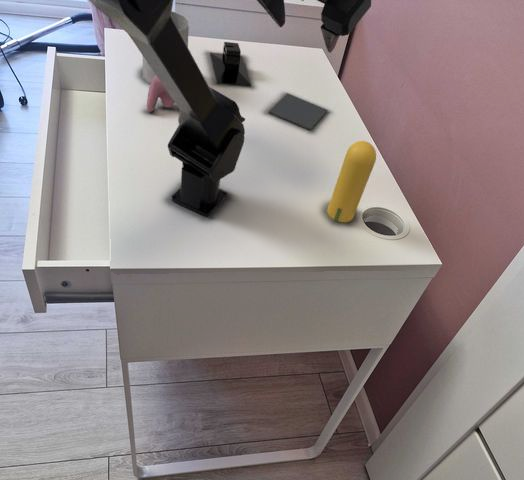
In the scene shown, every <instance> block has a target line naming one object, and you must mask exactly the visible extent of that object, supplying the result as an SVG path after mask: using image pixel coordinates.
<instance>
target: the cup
mask: <svg viewBox="0 0 524 480" xmlns="http://www.w3.org/2000/svg"><path fill="white" fill-rule="evenodd" d="M171 17H172V19H173V21H174V23H175V25H176V27H177V29H178V30H179V32H180V34H181V36H182V38H183V40H184V41H185V43H186V45H187V47H188V48H189V31H190V30H189V29H190V25H189V23H190V22H189V20H188V19H187V18H186V17H185V16H184V15H182V14H180V13H178V12H176V11H173V10H172V11H171ZM155 76H156V74H155V73H154V71H153V70H152V68H151V67H150V65H149V64H148V62H147V61H146V59H145V58H144V57H143V56H142V78H143V79H144V81H146V82H147V83H148V84H151V81H152V79H153V78H154V77H155Z"/></svg>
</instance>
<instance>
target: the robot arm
mask: <svg viewBox="0 0 524 480" xmlns="http://www.w3.org/2000/svg"><path fill="white" fill-rule="evenodd" d="M88 1H89V2H90V4H92V5H93V6H94V7H95V8H96V9H97V10H98V11H100V12H101V13H102V14H103V15H105V16H106V17H107V18H108V19H110V20H111V21H112V22H113V23H114V24H115V25H117V26H118V27H119V28H121V29H122V30H123V31H124V32H125V33H126V34H127V35H128V36H129V37H130V40H131V41H132V42H133V43H134V45H135V46H136V48H137V49H138V51H139V53H140V54H141V55H142V58H143V57H144V58H145V59H146V61H147V62H148V64H149V65H150V67H151V68H152V70H153V71H154V73H155V74H156V76H157V77H158V78H159V80H160V81H161V83H162V84H163V86H164V87H165V89H166V90H167V92H168V93H169V95H170V96H171V97H172V99H173V100H174V102H175V103H174V104H175V105H176V106H177V108H178V109H179V114H178V118H177V121H178V126H177V128H176V129H175V131H174V133H173V134H172V136H171V138H170V140H169V141H168V143H167V149H168V153H169V155H170V156H171V157H172V158H175V159H177V160H179V161H180V162H181V163H182V164H181V174H180V175H181V176H180V177H181V178H180V188H179V189H178V190H177V191H175V193H174V194H172V195H171V201H172V202H174V203H175V204H178V205H180V206H183V207H185V208H187V209H189V210H191V211H194V212H196V213H197V214H200V215H201V216H204V217H209V216H210V215H211V214H212V213H213V212H214V211H215V210H216V209H217V208H218V207H219V206H220V204H221V203H222V202H223V201H224V200H225V199H226V198H227V197H228V192H226V191H225V190H222V189H220V185H221V179H223V178H225V177H227V176H228V175H230V174H232V173H234V172H235V169H236V167H237V163H238V161H239V158H240V155H241V152H242V150H243V147H244V144H245V134H246V131H245V126H244V125H245V124H244V122H245V121H246V118H245V117H244V116H242V114H241V112H240V108H239V107H240V106H239V105H238V104H237V102H236V101H235V100H233V99H231V98H230V97H228V96H226V95H225V94H223V93H221V92H220V91H218V90H217V89H215V88H213V87H211V86H210V85H209V84H208V81H207V80H206V78H205V77H204V75H203V72H202V71H201V69H200V67H199V66H198V63H197V62H196V60H195V59H194V56H193V54H192V52H191V50H190V49H189V46H188V47H187V45H186V43H185V41H184V40H183V38H182V36H181V34H180V32H179V30H178V29H177V27H176V25H175V23H174V21H173V19H172V17H171V11H172V12H173V6H174V5H173V4H174V0H88ZM301 1H302V2H304V1H305V0H301ZM316 1H317V2H320V3H322V4H323V7H322V11H321V13H320V17H321V18H320V20H321V22H322V24H321V25H320V31H321V34H322V35H321V36H322V38H323V41H324V45H325V48H326V50H327V52H328V53H329V54H331V53H332V52H333V51H334V49H335V47H336V46H337V43H338V41H339V38H340V37H345V36H348V35H350V34H351V32H352V31H353V30H354V28H355V27H356V26H357V25H358V24H359V22H360V21H361V20H362V18H363V17H364V16H365V15H366V13H367V12H368V11H369V10H370V8H371V7H372V0H316ZM256 2H258V4H259V5H260V6H261V7H262V8H263V9H264V10H265V12H266V13H267V14H268V15H269V16H270V17H271V19H272V20H273V21H274V22H275V24H276V25H277V27H279V28H283V26H285V24H286V7H285V0H256Z"/></svg>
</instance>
